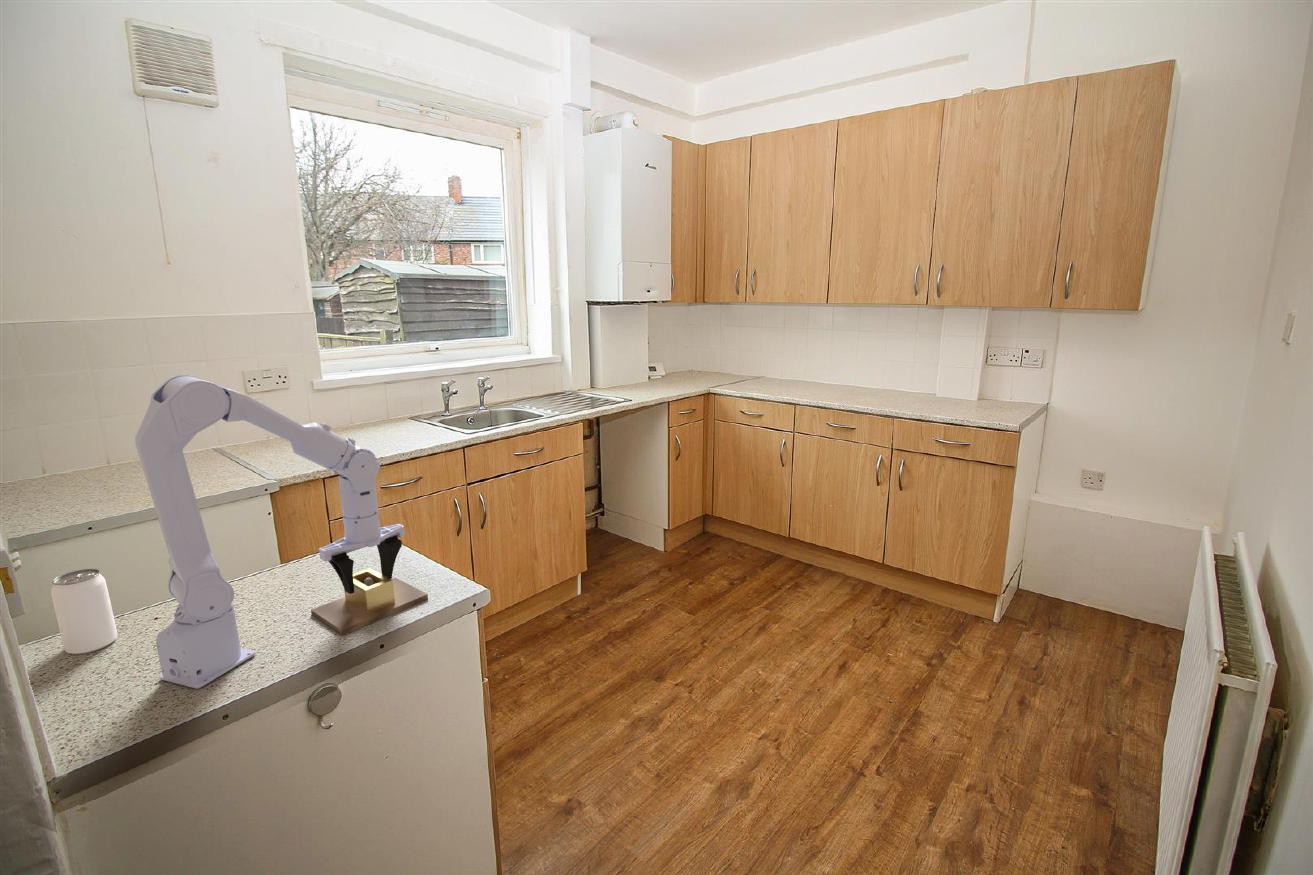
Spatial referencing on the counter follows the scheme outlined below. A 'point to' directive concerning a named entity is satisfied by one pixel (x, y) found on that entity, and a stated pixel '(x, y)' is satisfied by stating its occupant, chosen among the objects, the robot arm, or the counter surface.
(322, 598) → the counter surface
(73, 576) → the can
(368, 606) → the link
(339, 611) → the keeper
